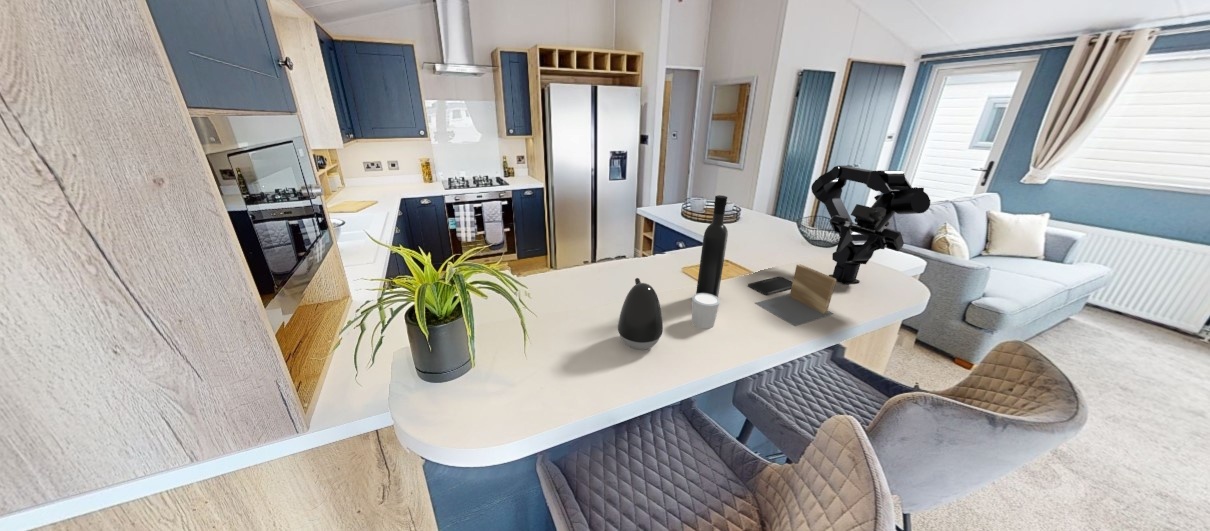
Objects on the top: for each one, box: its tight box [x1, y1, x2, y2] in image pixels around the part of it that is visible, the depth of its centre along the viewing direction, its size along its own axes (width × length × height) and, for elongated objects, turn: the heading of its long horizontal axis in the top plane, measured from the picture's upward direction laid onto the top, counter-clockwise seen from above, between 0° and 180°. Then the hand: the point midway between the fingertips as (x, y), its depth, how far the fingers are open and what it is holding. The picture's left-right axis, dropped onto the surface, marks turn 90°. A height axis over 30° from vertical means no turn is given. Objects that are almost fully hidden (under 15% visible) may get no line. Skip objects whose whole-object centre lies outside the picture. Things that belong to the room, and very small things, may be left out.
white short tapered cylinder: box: [691, 293, 721, 330], centre depth 97 cm, size 7×7×7 cm
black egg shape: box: [617, 277, 664, 351], centre depth 87 cm, size 10×10×15 cm
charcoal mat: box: [754, 293, 835, 327], centre depth 107 cm, size 16×14×1 cm
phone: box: [747, 276, 793, 296], centre depth 120 cm, size 8×1×15 cm
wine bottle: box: [695, 195, 729, 298], centre depth 104 cm, size 6×6×30 cm
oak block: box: [789, 263, 837, 314], centre depth 107 cm, size 2×11×10 cm, turn 27°
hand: (845, 254), depth 109 cm, fingers open, 5 cm apart
